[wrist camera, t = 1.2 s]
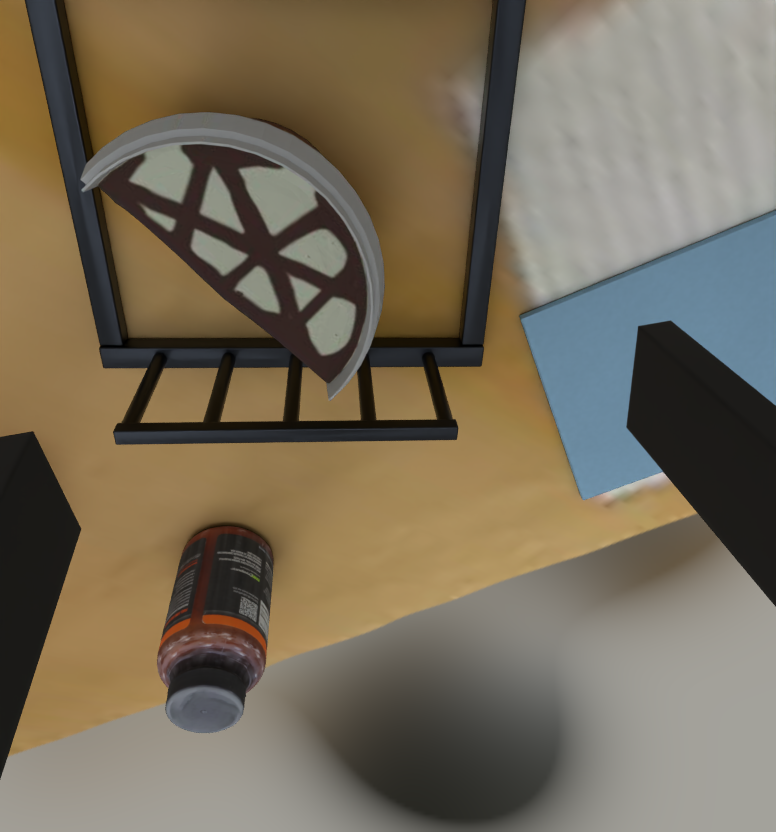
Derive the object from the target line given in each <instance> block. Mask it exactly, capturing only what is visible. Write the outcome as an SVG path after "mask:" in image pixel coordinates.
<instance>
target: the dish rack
mask: <svg viewBox="0 0 776 832" xmlns="http://www.w3.org/2000/svg"><path fill="white" fill-rule="evenodd" d="M25 3H26V8H27V12H28V17H29V22H30V26H31V31H32V35H33V40H34V45H35V49H36V54H37V58H38V63H39V67H40V72H41V77H42V81H43V86H44V90H45V95H46V100H47V104H48V109H49V113H50V118H51V123H52V127H53V132H54V136H55V141H56V146H57V150H58V155H59V159H60V164H61V168H62V173H63V178H64V182H65V187H66V191H67V196H68V201H69V205H70V210H71V214H72V219H73V224H74V228H75V233H76V237H77V242H78V247H79V251H80V256H81V260H82V265H83V269H84V274H85V279H86V283H87V288H88V292H89V297H90V302H91V306H92V311H93V315H94V320H95V325H96V329H97V334H98V338H99V343H100V345H101V346H100V348H99V350H100V355H101V359H102V364H103V368H148V369H147V371H146V373H145V375H144V377H143V379H142V381H141V383H140V385H139V387H138V389H137V392H136V394H135V396H134V398H133V400H132V402H131V404H130V406H129V408H128V410H127V412H126V414H125V416H124V419H123V421H122V423H118V424H117V425H116V427H115V429H114V431H113V433H114V438H115V442H116V444H117V445H121V444H193V443H265V442H337V441H409V440H457V435H458V425H457V422H456V420H455V419H453V418H452V414H451V411H450V407H449V404H448V401H447V397H446V394H445V390H444V387H443V383H442V380H441V377H440V373H439V370H438V367H480V366H482V360H483V352H484V347H483V343H484V336H485V328H486V320H487V312H488V304H489V295H490V287H491V279H492V271H493V263H494V255H495V247H496V239H497V231H498V223H499V215H500V207H501V199H502V191H503V182H504V174H505V166H506V158H507V150H508V142H509V134H510V126H511V118H512V110H513V102H514V94H515V86H516V78H517V69H518V61H519V53H520V45H521V37H522V29H523V21H524V13H525V5H526V0H493V7H492V17H491V27H490V37H489V46H488V56H487V66H486V76H485V86H484V96H483V106H482V115H481V125H480V135H479V145H478V155H477V165H476V175H475V184H474V194H473V204H472V214H471V224H470V234H469V244H468V253H467V263H466V273H465V283H464V293H463V303H462V313H461V322H460V332H459V338H373V340H372V343H371V346H370V348H369V350H368V352H367V354H366V356H365V358H364V360H363V362H362V364H361V366H360V367H359V369H358V370H357V375H358V388H359V401H360V414H361V420H357V421H299V411H300V396H301V382H302V367H308V366H307V365H305V364H304V363H303V362H302V361H301V360H300V359H298V358H297V357H296V356H295V355H294V354H293V353H291V352H290V351H289V350H288V349H287V348H286V347H284V346H283V345H282V344H281V343H280V342H279V341H277V340H276V339H275V338H189V339H127V338H128V336H127V331H126V325H125V320H124V315H123V310H122V305H121V299H120V294H119V289H118V284H117V278H116V273H115V268H114V263H113V258H112V252H111V247H110V242H109V237H108V231H107V226H106V221H105V216H104V211H103V205H102V200H101V195H100V190H99V187H98V186H97V187H95V188H92V189H90V190H87V191H85V192H83V191H81V190H82V189H83V188H84V187H85V186H86V184H85V183H84V182H83V181H81V180H80V179H81V176H82V174H83V171H84V168H85V165H86V164H87V163H88V162H89V161H90V160H91V159H92V158H93V153H92V148H91V143H90V138H89V132H88V127H87V122H86V117H85V111H84V106H83V101H82V96H81V91H80V85H79V80H78V75H77V70H76V65H75V59H74V54H73V49H72V44H71V38H70V33H69V28H68V23H67V18H66V12H65V7H64V2H63V0H25ZM270 367H289V369H288V379H287V388H286V397H285V407H284V416H283V421H269V422H220V420H221V416H222V412H223V408H224V404H225V400H226V396H227V392H228V388H229V384H230V380H231V376H232V372H233V368H270ZM371 367H424V370H425V374H426V378H427V382H428V386H429V390H430V393H431V397H432V401H433V405H434V409H435V413H436V417H437V420H376V412H375V403H374V394H373V385H372V376H371ZM164 368H219V369H218V373H217V376H216V380H215V383H214V387H213V390H212V393H211V397H210V400H209V404H208V407H207V411H206V414H205V417H204V421H203V422H181V423H140V422H141V419H142V417H143V415H144V412H145V410H146V408H147V406H148V403H149V401H150V399H151V396H152V394H153V392H154V390H155V387H156V385H157V383H158V381H159V378H160V376H161V374H162V371H163V369H164Z"/></svg>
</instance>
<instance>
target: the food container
mask: <svg viewBox="0 0 776 832" xmlns="http://www.w3.org/2000/svg"><path fill="white" fill-rule="evenodd" d="M80 180H81V181H83V182H84V183H85V184H86V186H85V187H84V188H83V189H82V190H81V191H83V192H85V191H87V190H90V189H92V188H95V187H97V186H98V187H99V188H100V189H101V190H102V191H103V192H105V193H106V194H107V195H108V196H109V197H110V198H111V199H112V200H113V201H114V202H115V203H116V204H118V205H119V206H121V207H122V208H124V209H125V210H126V211H128V212H129V213H130V214H131V215H133V216H134V217H135V218H136V219H138V220H139V221H140V222H141V223H142V224H143V225H144V226H146V227H147V228H148V229H149V230H150V231H151V232H152V233H154V234H155V235H156V236H157V237H158V238H159V239H160V240H162V241H163V242H164V243H165V244H166V245H167V246H168V247H169V248H170V249H171V250H173V251H174V252H175V253H176V254H177V255H178V256H179V257H180V258H181V259H182V260H184V261H185V262H186V263H187V264H188V265H189V266H190V267H191V268H192V269H193V270H194V271H195V272H196V273H197V274H198V275H199V276H200V277H201V278H202V279H203V280H204V281H205V282H207V283H208V284H209V285H210V286H211V287H212V288H213V289H214V290H215V291H216V292H217V293H218V294H219V295H220V296H221V297H223V298H224V299H225V300H226V301H228V302H229V303H230V304H231V305H233V306H234V307H235V308H236V309H238V310H239V311H240V312H242V313H243V314H244V315H246V316H247V317H248V318H250V319H251V320H252V321H254V322H255V323H256V324H257V325H259V326H260V327H261V328H262V329H264V330H265V331H266V332H267V333H269V334H270V335H271V336H273V337H274V338H275V339H276V340H277V341H279V342H280V343H281V344H282V345H283V346H284V347H286V348H287V349H288V350H289V351H290V352H291V353H293V354H294V355H295V356H296V357H297V358H298V359H300V360H301V361H302V362H303V363H304V364H305V365H307V366H308V367H309V368H310V369H311V370H312V371H314V372H315V373H316V374H317V375H318V376H319V377H321V378H322V379H323V380H324V381H325V382H326V384H327V391H328V398H329V400H330V401H331V400H332V399H333V398H334V397H335V396H336V395H337V394H338V393H339V392H340V391H341V390H342V389H343V388H344V387H345V386H346V385H347V384H348V382H349V381H350V380H351V378H352V377H353V376H354V374H355V373H356V371H357V370H358V369H359V367H360V366H361V364H362V362H363V360H364V358H365V356H366V354H367V352H368V350H369V348H370V346H371V343H372V340H373V337H374V334H375V331H376V328H377V325H378V321H379V318H380V314H381V311H382V304H383V296H384V288H385V285H384V263H383V258H382V253H381V248H380V244H379V239H378V236H377V234H376V231H375V229H374V226H373V223H372V221H371V218H370V215H369V214H368V212H367V210H366V208H365V207H364V205H363V203H362V202H361V200H360V198H359V196H358V195H357V193H356V191H355V190H354V189H353V188H352V186H351V185H350V184H349V183H348V182H347V180H346V179H345V178H344V177H343V175H342V174H341V173H340V172H339V170H337V169H336V168H335V167H334V166H333V165H332V164H331V163H330V162H329V161H328V160H326V159H325V158H324V157H323V156H322V155H321V154H320V152H319V151H318V150H317V149H316V148H315V147H314V146H312V145H311V144H310V143H309V142H308V141H307V140H306V139H304V138H303V137H301V136H300V135H298V134H297V133H295V132H294V131H292V130H290V129H288V128H286V127H283V126H281V125H279V124H277V123H273V122H269V121H266V120H262V119H255V118H246V117H242V116H239V115H231V114H222V113H212V112H201V113H184V114H176V115H172V116H168V117H163V118H159V119H155V120H151V121H149V122H146V123H144V124H142V125H140V126H137V127H135V128H133V129H130V130H128V131H126V132H124V133H123V134H121V135H120V136H118V137H117V138H116V139H114V140H113V141H111V142H110V143H108V144H107V145H105V146H104V147H103V148H102V149H101V150H100V151H99V152H98V153H97V154H96V155H95V156H94V157H93V158H92V159H91V160H90V161H89V162H88V163H87V164H86V165H85V168H84V171H83V174H82V176H81V179H80Z"/></svg>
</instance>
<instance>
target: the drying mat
mask: <svg viewBox="0 0 776 832" xmlns="http://www.w3.org/2000/svg"><path fill="white" fill-rule="evenodd" d="M519 317H520V320H521V323H522V326H523V329H524V332H525V335H526V338H527V341H528V343H529V346H530V349H531V352H532V355H533V358H534V361H535V364H536V367H537V370H538V373H539V376H540V379H541V381H542V384H543V387H544V390H545V393H546V396H547V399H548V402H549V405H550V408H551V411H552V414H553V417H554V419H555V422H556V425H557V428H558V431H559V434H560V437H561V440H562V443H563V446H564V449H565V452H566V455H567V457H568V460H569V463H570V466H571V469H572V472H573V475H574V478H575V481H576V484H577V487H578V490H579V493H580V495H581V498H582V500H585V499H588V498H591V497H594V496H597V495H599V494H602V493H605V492H608V491H610V490H613V489H616V488H619V487H621V486H624V485H627V484H630V483H633V482H635V481H638V480H641V479H644V478H646V477H649V476H652V475H655V474H657V473H660V472H663V471H662V470H661V468H660V467H659V466H658V465H657V464H656V462H655V461H654V460H653V459H652V458H651V456H650V455H649V454H648V453H647V452H646V450H645V449H644V448H643V447H642V446H641V444H640V443H639V442H638V441H637V440H636V438H635V437H634V436H633V435H632V434H631V432H630V431H629V430H628V429H627V428H626V425H627V417H628V408H629V400H630V391H631V383H632V374H633V365H634V357H635V348H636V340H637V331H638V326H641V325H647V324H653V323H659V322H664V321H670V320H671V321H672V322H673V323H675V324H676V325H677V326H678V327H680V328H681V329H682V330H683V331H685V332H686V333H687V334H688V335H689V336H691V337H692V338H693V339H694V340H696V341H697V342H698V343H699V344H701V345H702V346H703V347H704V348H705V349H707V350H708V351H709V352H710V353H712V354H713V355H714V356H715V357H717V358H718V359H719V360H720V361H721V362H723V363H724V364H725V365H726V366H728V367H729V368H730V369H731V370H733V371H734V372H735V373H736V374H737V375H739V376H740V377H741V378H742V379H744V380H745V381H746V382H747V383H749V384H750V385H751V386H752V387H754V388H755V389H756V390H757V391H758V392H760V393H761V394H762V395H763V396H765V397H766V398H767V399H768V400H770V401H771V402H772V403H773V404H774V405H776V210H775V211H773V212H770V213H768V214H766V215H763V216H761V217H758V218H756V219H753V220H751V221H748V222H746V223H744V224H741V225H739V226H736V227H734V228H731V229H729V230H727V231H724V232H722V233H719V234H717V235H714V236H712V237H710V238H707V239H705V240H702V241H700V242H697V243H695V244H693V245H690V246H688V247H685V248H683V249H680V250H678V251H675V252H673V253H671V254H668V255H666V256H663V257H661V258H658V259H656V260H654V261H651V262H649V263H646V264H644V265H641V266H639V267H637V268H634V269H632V270H629V271H627V272H624V273H622V274H620V275H617V276H615V277H612V278H610V279H607V280H605V281H603V282H600V283H598V284H595V285H593V286H590V287H588V288H585V289H583V290H581V291H578V292H576V293H573V294H571V295H568V296H566V297H564V298H561V299H559V300H556V301H554V302H551V303H549V304H547V305H544V306H542V307H539V308H537V309H534V310H532V311H530V312H527V313H525V314H522V315H520V316H519Z"/></svg>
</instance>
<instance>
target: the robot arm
mask: <svg viewBox="0 0 776 832" xmlns="http://www.w3.org/2000/svg"><path fill="white" fill-rule="evenodd" d="M626 428H627V429H628V430H629V431H630V432H631V434H632V435H633V436H634V437H635V438H636V440H637V441H638V442H639V443H640V444H641V446H642V447H643V448H644V449H645V450H646V452H647V453H648V454H649V455H650V456H651V458H652V459H653V460H654V461H655V462H656V464H657V465H658V466H659V467H660V468H661V470H662V471H663V472H664V473H665V474H666V476H667V477H668V478H669V479H670V480H671V482H672V483H673V484H674V485H675V486H676V488H677V489H678V490H679V491H680V492H681V494H682V495H683V496H684V497H685V498H686V500H687V501H688V502H689V503H690V504H691V506H692V507H693V508H694V509H695V510H696V512H697V513H698V514H699V515H700V516H701V518H702V519H703V520H704V521H705V522H706V523H707V525H708V526H709V527H710V528H711V529H712V531H713V532H714V533H715V534H716V536H717V537H718V538H719V539H720V540H721V542H722V543H723V544H724V545H725V546H726V548H727V549H728V550H729V551H730V552H731V554H732V555H733V556H734V557H735V558H736V560H737V561H738V562H739V563H740V564H741V566H742V567H743V568H744V569H745V570H746V571H747V573H748V574H749V575H750V576H751V578H752V579H753V580H754V581H755V582H756V584H757V585H758V586H759V587H760V588H761V590H762V591H763V592H764V593H765V594H766V596H767V597H768V598H769V599H770V600H771V602H772V603H773V604H774V605H775V606H776V405H774V404H773V403H772V402H771V401H770V400H768V399H767V398H766V397H765V396H763V395H762V394H761V393H760V392H758V391H757V390H756V389H755V388H754V387H752V386H751V385H750V384H749V383H747V382H746V381H745V380H744V379H742V378H741V377H740V376H739V375H737V374H736V373H735V372H734V371H733V370H731V369H730V368H729V367H728V366H726V365H725V364H724V363H723V362H721V361H720V360H719V359H718V358H717V357H715V356H714V355H713V354H712V353H710V352H709V351H708V350H707V349H705V348H704V347H703V346H702V345H701V344H699V343H698V342H697V341H696V340H694V339H693V338H692V337H691V336H689V335H688V334H687V333H686V332H685V331H683V330H682V329H681V328H680V327H678V326H677V325H676V324H675V323H673V322H672V321H671V320H670V321H664V322H659V323H653V324H647V325H641V326H638V331H637V340H636V348H635V357H634V365H633V374H632V383H631V391H630V400H629V408H628V417H627V425H626ZM80 531H81V528H80V525H79V523H78V521H77V519H76V517H75V515H74V513H73V511H72V509H71V507H70V505H69V503H68V501H67V499H66V497H65V495H64V493H63V491H62V489H61V487H60V485H59V483H58V481H57V479H56V477H55V475H54V473H53V471H52V469H51V467H50V465H49V463H48V461H47V459H46V457H45V454H44V452H43V450H42V448H41V446H40V444H39V442H38V440H37V438H36V436H35V434H34V432H33V431H32V432H27V433H21V434H15V435H9V436H4V437H0V778H1V775H2V772H3V769H4V766H5V763H6V760H7V757H8V754H9V751H10V748H11V744H12V741H13V738H14V735H15V732H16V729H17V726H18V723H19V720H20V717H21V714H22V710H23V707H24V704H25V701H26V698H27V695H28V692H29V689H30V686H31V683H32V680H33V676H34V673H35V670H36V667H37V664H38V661H39V658H40V655H41V652H42V649H43V646H44V642H45V639H46V636H47V633H48V630H49V627H50V624H51V621H52V618H53V615H54V611H55V608H56V605H57V602H58V599H59V596H60V593H61V590H62V587H63V584H64V581H65V577H66V574H67V571H68V568H69V565H70V562H71V559H72V556H73V553H74V550H75V547H76V543H77V540H78V537H79V534H80Z"/></svg>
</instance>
